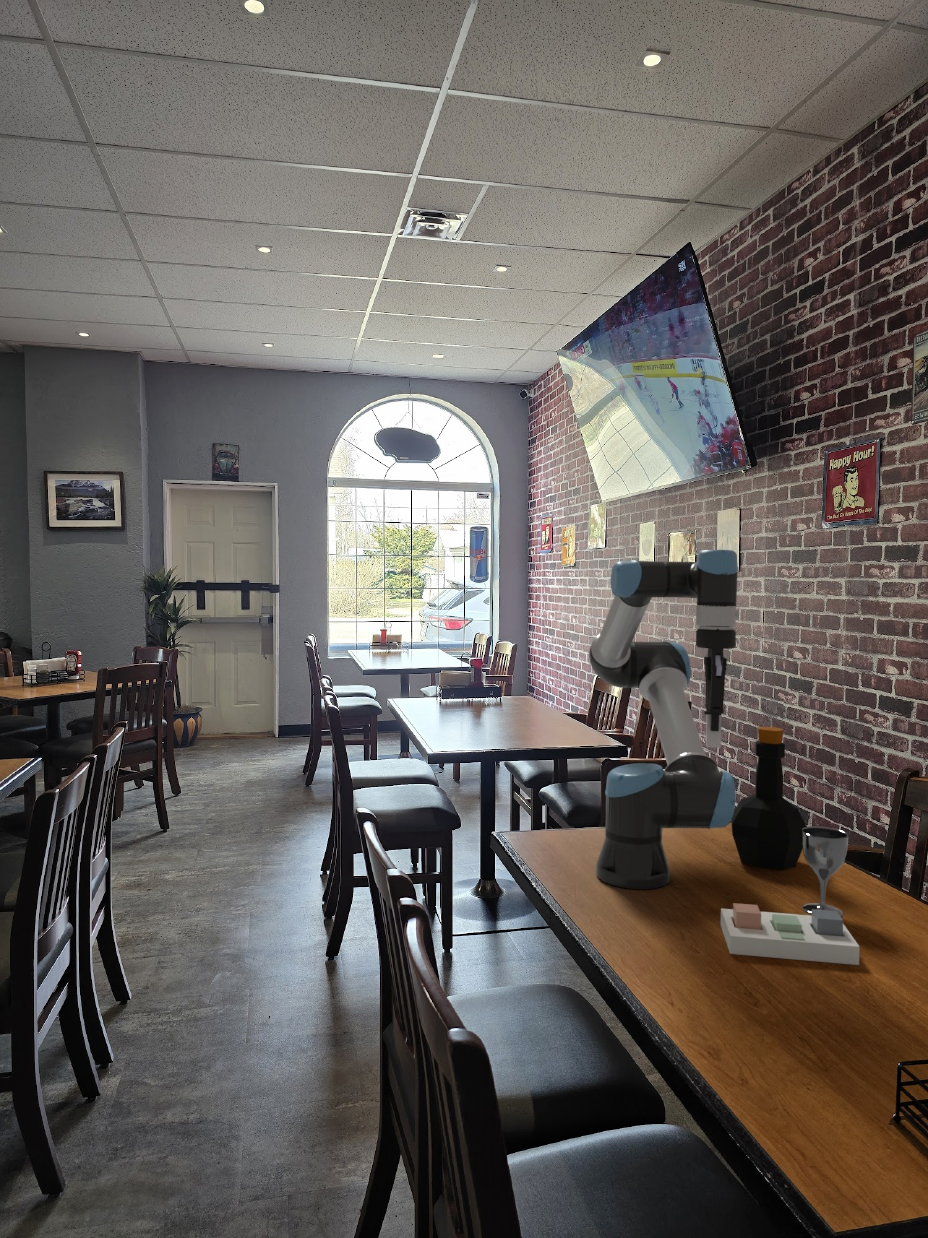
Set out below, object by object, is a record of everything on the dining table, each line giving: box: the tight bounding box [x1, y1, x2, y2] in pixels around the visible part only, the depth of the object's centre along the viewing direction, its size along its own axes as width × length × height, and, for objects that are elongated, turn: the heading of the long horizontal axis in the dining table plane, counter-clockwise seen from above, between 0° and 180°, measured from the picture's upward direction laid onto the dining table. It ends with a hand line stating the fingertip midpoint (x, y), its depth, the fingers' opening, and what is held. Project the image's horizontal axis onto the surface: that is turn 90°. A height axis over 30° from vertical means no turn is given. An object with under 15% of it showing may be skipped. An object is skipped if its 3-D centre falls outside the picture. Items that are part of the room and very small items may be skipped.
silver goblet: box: [802, 825, 849, 918], centre depth 154 cm, size 8×8×15 cm
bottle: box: [731, 726, 808, 871], centre depth 182 cm, size 16×16×30 cm
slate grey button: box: [811, 909, 844, 936], centre depth 138 cm, size 4×4×3 cm
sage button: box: [772, 914, 802, 933], centre depth 139 cm, size 4×4×3 cm
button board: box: [720, 908, 860, 966], centre depth 139 cm, size 20×12×3 cm, turn 80°
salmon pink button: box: [732, 902, 762, 930], centre depth 140 cm, size 4×4×3 cm
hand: (713, 746), depth 161 cm, fingers closed
